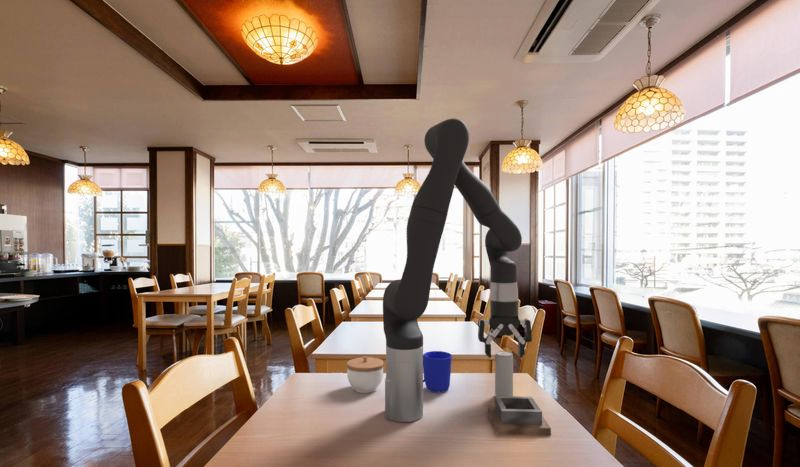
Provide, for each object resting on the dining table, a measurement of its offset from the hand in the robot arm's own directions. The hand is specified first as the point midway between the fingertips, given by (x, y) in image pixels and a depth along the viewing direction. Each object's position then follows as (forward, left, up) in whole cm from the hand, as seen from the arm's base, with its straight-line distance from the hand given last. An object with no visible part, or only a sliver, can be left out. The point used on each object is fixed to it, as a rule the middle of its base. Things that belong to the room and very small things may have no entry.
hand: (504, 357), depth 116 cm
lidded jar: (-39, +4, -11) cm, 41 cm away
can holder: (0, -16, -11) cm, 19 cm away
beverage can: (0, 0, -11) cm, 11 cm away
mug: (-20, +5, -11) cm, 24 cm away
